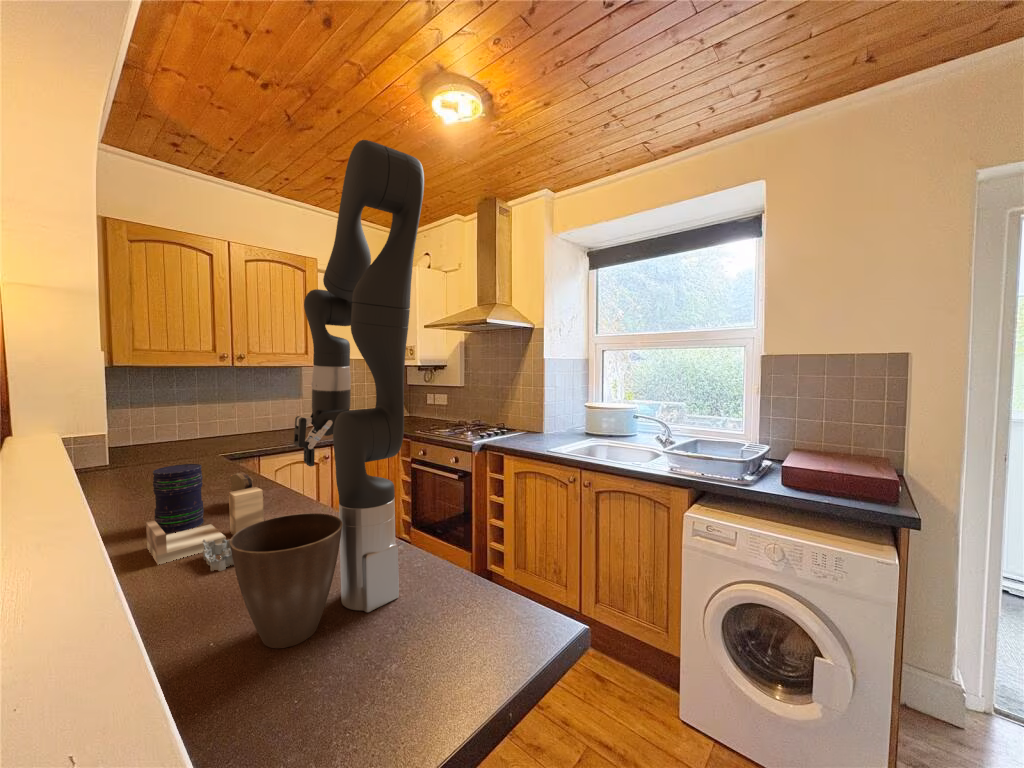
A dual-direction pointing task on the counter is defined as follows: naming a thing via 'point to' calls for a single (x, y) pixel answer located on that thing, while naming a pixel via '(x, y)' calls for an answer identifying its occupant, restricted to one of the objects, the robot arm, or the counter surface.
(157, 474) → the storage jar
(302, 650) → the counter surface
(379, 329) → the robot arm
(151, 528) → the birch board
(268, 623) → the plant pot
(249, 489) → the oak plank block
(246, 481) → the wooden carving
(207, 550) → the egg carton
